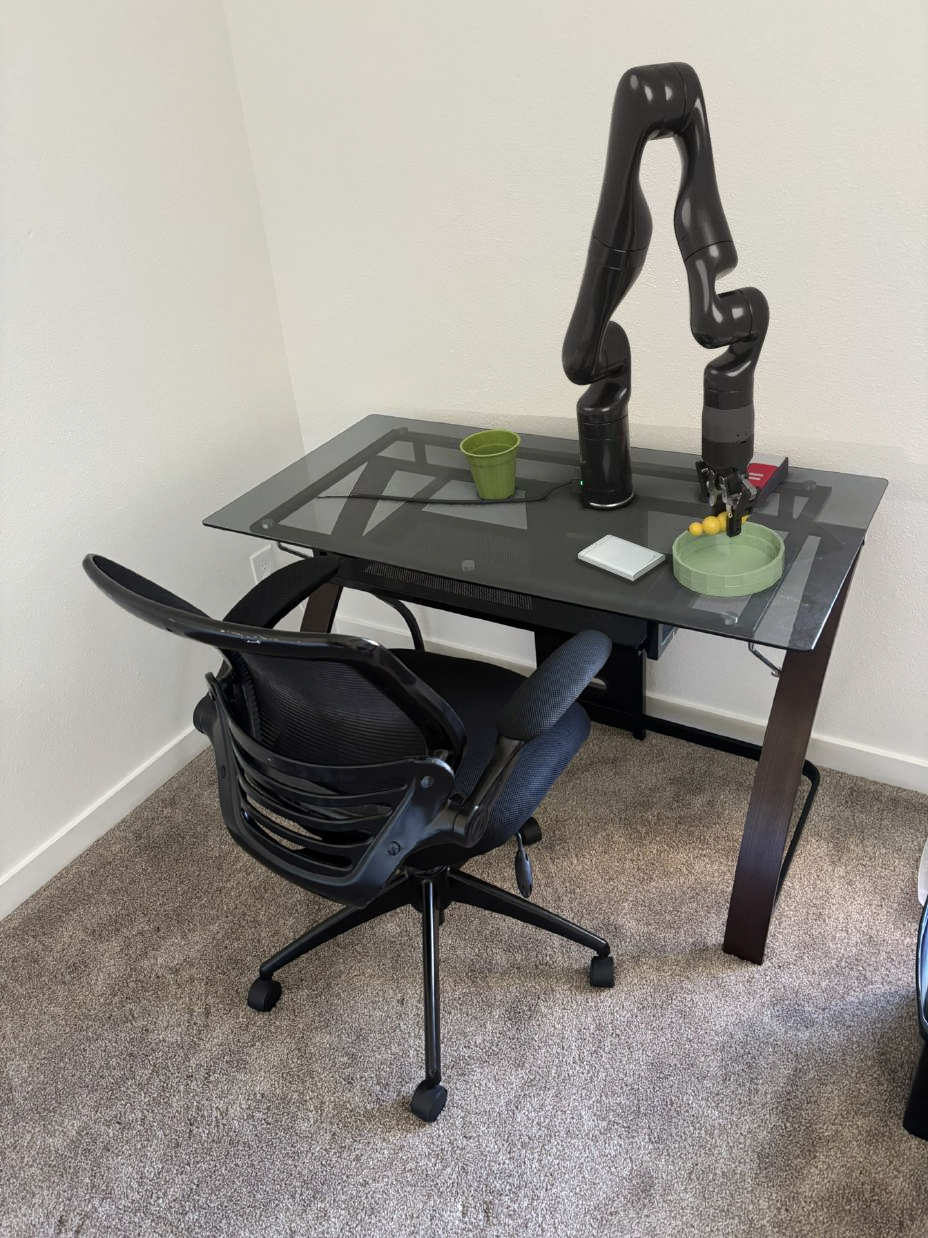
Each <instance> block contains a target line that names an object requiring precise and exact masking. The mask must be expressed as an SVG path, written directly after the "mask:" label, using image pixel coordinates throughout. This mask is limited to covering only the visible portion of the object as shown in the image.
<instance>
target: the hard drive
mask: <svg viewBox="0 0 928 1238" xmlns="http://www.w3.org/2000/svg"><path fill="white" fill-rule="evenodd" d="M577 559H579V560H582V561H583V562H587V563H589V564H591V565H594V566H596V567H598V568H601V569H603V570H606V571H609V572H611V573H613V574H615V575H618V576H620V577H623V578H625V579H627V580H630V581H632V582H635V580H637V579H638V578H640V577H642V576H643V575H645V574H646V573H648V572H649V571H650V570H652V569H654V568H655V567H656V566H658V565H659V564H661V563H663V562H664V561H665V560H666V554H664V553H660V552H658V551H655V550H653V549H650V548H647V547H645V546H643V545H642V546H641V545H639V544H637V543H634V542H631V541H629V540H626V539H623V538H620V537H618V536H614V535H612V534H607V535H605V536H603V537H602V538H600V539H599V540H597V541H596V542H594V543H592V544H590V545H589V546H587V547H586V548H584V549H582V550H581V551H579V553H578V554H577Z"/></svg>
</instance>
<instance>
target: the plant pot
mask: <svg viewBox="0 0 928 1238" xmlns="http://www.w3.org/2000/svg"><path fill="white" fill-rule="evenodd" d="M521 439H522V438H521V436H520V435H519V434H518V433H517V432H515V431H511V430H509V429H487V430H483V431H479V432H476V433H473V434H471V435H468V436H467V437H465V438H464V439H463V440H461V442H460V443H459V449H460V451H461V452H462V453H463V454H464V457H465V460H466V462H467V463H468V466H469V469H470V473H471V475H472V478H473V482H474V484H475V487H476V491H477V494H478V496H479V498H480V500H486V499H505V498H509V497H511V496H513V495H514V493H515V491H516V490H515V488H516V473H517V472H516V471H517V455H518V452H519V445H520V444H521Z"/></svg>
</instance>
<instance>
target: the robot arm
mask: <svg viewBox="0 0 928 1238" xmlns="http://www.w3.org/2000/svg"><path fill="white" fill-rule="evenodd" d="M708 119H709V118H708V113H707V106H706V100H705V95H704V90H703V87H702V84H701V80H700V77H699V75H698V73H697V72H696V70H695V68H694V67H693V66H692V65H690V63H687V62H683V61H670V62H660V63H653V64H643V65H638V66H637V65H636V66H633V67H630V68H628V69H626V71H625V72H624V73H623V74H622V75H621V76H620V79H619V81H618V82H617V85H616V89H615V92H614V97H613V101H612V106H611V113H610V121H609V130H608V138H607V146H606V147H607V148H606V154H605V161H604V162H605V163H604V164H605V165H604V170H603V176H602V180H601V181H602V182H601V187H600V192H599V197H598V202H597V207H596V212H595V215H594V219H593V223H592V226H591V232H590V236H589V242H588V246H587V252H586V258H585V264H584V267H583V272H582V276H581V281H580V284H579V288H578V292H577V297H576V301H575V303H574V308H573V310H572V314H571V316H570V319H569V323H568V326H567V329H566V331H565V335H564V337H563V341H562V345H561V355H560V356H561V366H562V369H563V373H564V375H565V376H566V378H567V380H569V382H570V383H571V384H573V385H576V386H580V387H583V386H587V389H586V390H585V391H584V392H583V393H582V394H581V396H579V397H578V399H577V401H576V403H575V411H576V422H577V435H578V444H579V455H580V457H579V465H580V467H579V468H574V470H573V473H572V475H571V478H570V479H568V480H565V481H562V482H559V483H556V484H553V485H552V486H551V487H549V488H548V489H547V490H546V491H545V492H544V493H543V494H540V495H537V496H534V497H520V498H519V497H511V498H510V497H507V498H505V499H486V500H485V499H441V498H423V497H411V496H410V497H409V496H408V497H407V496H397V495H396V496H395V495H384V494H373V493H372V494H371V493H370V494H369V493H357V494H358V495H352V497H351V498H359V499H360V498H363V499H377V500H378V499H379V500H392V501H400V502H401V501H402V502H413V503H425V504H426V503H427V504H448V505H454V504H455V505H467V504H468V505H473V504H474V505H475V504H476V505H477V504H479V505H480V504H481V505H482V504H498V503H499V504H501V503H502V504H503V503H530V502H531V503H532V502H536V501H537V502H538V501H541V500H544V499H546V498H547V497H548V496H549V495H550V494H551V493H552V492H553V491H555V490H558V489H559V488H561V487H565V486H568V485H571V492H572V493H573V494H574V493H575V494H576V493H577V494H579V493H582V498H583V508H585V509H586V508H589V509H593V510H597V511H598V510H600V511H607V510H608V511H609V510H610V511H611V510H616V509H620V508H624V507H625V506H627V505H629V504H631V502H632V501H633V500H634V498H635V493H634V492H635V491H634V484H633V468H632V454H631V453H632V452H631V434H630V420H629V419H630V418H629V403H630V401H631V397H632V350H631V343H630V340H629V338H628V334H627V332H626V330H625V329H624V327H623V326H622V325H621V324H620V323H619V322H617V321H615V320H611V319H612V317H613V315H614V314H615V312H616V310H617V309H618V307H620V305H621V303H622V302H623V301H624V299H625V298H626V296H627V295H628V294H629V293H630V291H631V289H632V288H633V286H634V285H635V284H636V282H637V280H638V278H639V277H640V276H641V273H642V271H643V269H644V267H645V263H646V260H647V256H648V252H649V248H650V246H651V241H652V238H653V233H654V223H653V216H652V212H651V209H650V206H649V203H648V201H647V198H646V196H645V193H644V190H643V187H642V184H641V179H640V172H641V165H642V160H643V155H644V151H645V148H646V145H647V143H648V142H652V141H657V140H665V139H672V140H673V143H674V144H675V147H676V149H677V152H678V156H679V159H680V179H679V183H678V184H679V185H678V190H677V193H676V198H675V203H674V207H673V217H672V218H673V219H672V224H673V232H674V237H675V240H676V243H677V247H678V250H679V254H680V256H681V260H682V263H683V265H684V268H685V272H686V279H687V281H686V282H687V293H688V321H689V329H690V333H691V335H692V338H693V339H694V340H695V342H696V343H697V344H698V345H699V346H700V347H702V348H703V349H705V350H716V349H720V348H724V347H727V348H726V350H724V352H723V353H720V354H719V355H718V356H716V357H715V358H713V359H711V360H710V361H708V362H707V364H706V365H704V369H703V374H702V387H703V389H702V391H703V392H702V409H701V420H700V421H701V459H700V460H698V461H695V464H694V465H695V466H694V467H695V470H696V473H697V478H698V483H699V485H700V492H701V491H702V495H703V497H704V498H708V499H709V503H708V504H709V506H710V507H711V516H714V517H717V516H718V515H719V514H720V513H722V512H727V516H726V535H727V536H728V537H730V538H732V537H734V536H737V535H739V534H740V533H741V529H742V528H741V527H742V517H744V516H747V515H750V514H751V515H752V514H753V512H754V509H755V508H754V507H755V505H756V503H757V500H758V498H759V495H760V493H761V488H760V486H758V485H757V486H754V487H753V485H752V484H751V483H750V482H749V481H748V480H749V474H748V470H747V466H748V464H749V462H750V461H751V459H752V458H753V455H754V452H755V426H756V425H755V424H756V422H755V421H756V413H755V405H754V403H755V402H754V392H755V391H754V389H755V372H756V369H757V365H758V362H759V361H760V356H761V352H762V349H763V346H764V343H765V340H766V338H767V337H766V336H767V334H768V331H769V324H770V319H771V317H770V316H771V315H770V306H769V302H768V299H767V297H766V295H765V294H764V293H763V292H762V290H761V289H759V288H757V287H754V286H744V287H739V288H735V289H731V290H727V291H723V292H719V293H717V291H716V282H717V281H719V280H721V279H723V278H724V277H725V278H726V277H727V276H728V275H729V274H731V273H732V272H733V271H734V270H735V269H736V268H737V266H738V264H739V256H738V252H737V248H736V245H735V242H734V239H733V235H732V232H731V229H730V226H729V223H728V220H727V217H726V213H725V211H724V207H723V203H722V200H721V195H720V191H719V186H718V179H717V173H716V167H715V159H714V152H713V146H712V145H713V143H712V138H711V132H710V126H709V120H708ZM588 385H589V386H588ZM708 481H709V485H708V488H707V482H708ZM736 493H737V494H736ZM733 494H735V495H733ZM730 495H732V496H730ZM349 496H350V495H349ZM353 496H354V497H353ZM735 502H737V505H736V506H735V507H736V508H734V505H733V504H734V503H735ZM751 515H750V516H751Z"/></svg>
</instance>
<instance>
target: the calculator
mask: <svg viewBox="0 0 928 1238" xmlns="http://www.w3.org/2000/svg"><path fill="white" fill-rule="evenodd" d="M789 462H790V459H789V457H788V456H785V455H778V454H771V453H764V452H755V451H754V455H753V458H752V459H751V461H750V462H749V464H748V466H747V470H748V474H749V480H748V481H749V482H750V483H751V484H752V485H753V487H754V486H757V485H758V486H760V488H761V493H760V495H759V498H758V500H757V503H756V505H755V507H754V509H761V507H762V505H763V504H764V503H765V502H766V501H767V499H768V498H770V496H771V495H772V494H773V493H774V492H775V490H776V488H777V487H778V486H779V485H780V484H782V483H783V482H784V481H785V479H786V478H787V477H788V476H789V464H790V463H789ZM708 485H709V481H708V482H707V488H708ZM736 494H737V493H736ZM733 495H735V494H733ZM730 496H732V495H730ZM700 501H701V502H703V503H708V504H709V499H708V498H704V497H703V495H702V491H701V490H700ZM733 506H737V502H735V503H734V504H733Z"/></svg>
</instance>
